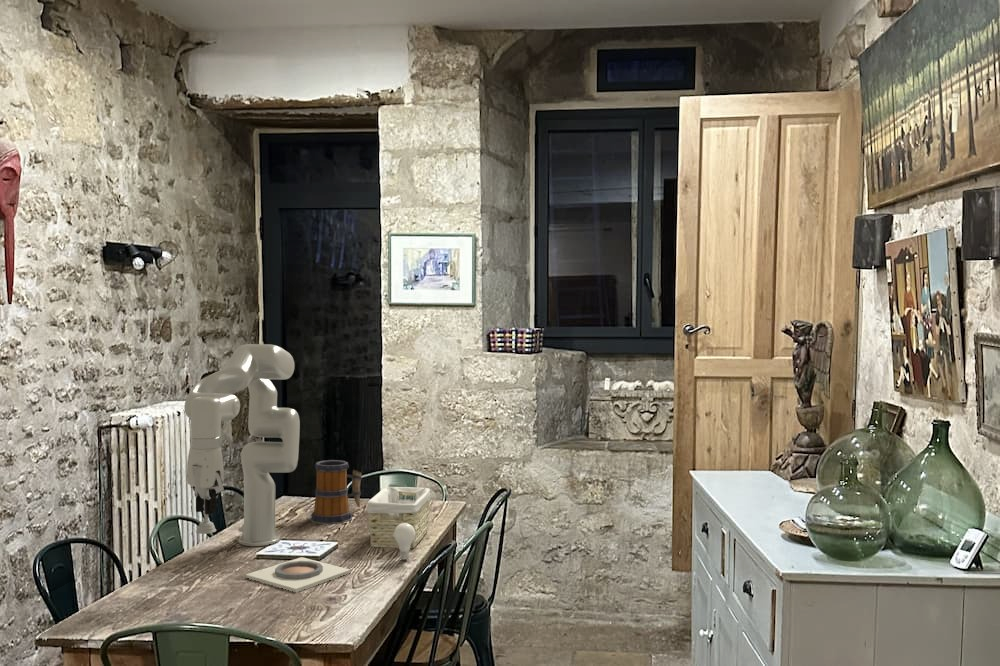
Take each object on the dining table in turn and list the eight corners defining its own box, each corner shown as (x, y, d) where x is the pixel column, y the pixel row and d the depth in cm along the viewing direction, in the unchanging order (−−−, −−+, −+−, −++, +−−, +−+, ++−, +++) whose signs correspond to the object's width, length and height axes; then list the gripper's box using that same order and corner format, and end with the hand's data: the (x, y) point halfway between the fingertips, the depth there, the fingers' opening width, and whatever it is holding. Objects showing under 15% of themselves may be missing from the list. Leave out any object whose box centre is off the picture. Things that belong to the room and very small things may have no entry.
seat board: (245, 578, 224) (245, 570, 224) (301, 560, 240) (301, 553, 240) (296, 592, 213) (296, 584, 213) (351, 573, 229) (351, 565, 229)
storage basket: (415, 551, 252) (416, 503, 251) (364, 548, 254) (364, 501, 253) (431, 531, 275) (432, 487, 275) (384, 529, 277) (385, 485, 277)
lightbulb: (393, 557, 245) (394, 520, 244) (415, 557, 245) (415, 520, 245) (392, 563, 238) (393, 526, 238) (414, 563, 239) (415, 525, 239)
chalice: (210, 535, 214) (210, 467, 213) (186, 534, 215) (186, 465, 214) (225, 528, 221) (224, 461, 220) (202, 526, 222) (202, 460, 222)
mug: (349, 510, 303) (350, 456, 302) (371, 517, 292) (372, 461, 292) (302, 518, 290) (303, 462, 289) (323, 526, 279) (324, 468, 279)
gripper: (174, 442, 219) (175, 510, 219) (213, 449, 209) (213, 520, 210) (199, 438, 225) (199, 504, 226) (237, 444, 216) (237, 514, 216)
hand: (206, 511), depth 218 cm, fingers closed on chalice, 3 cm apart
